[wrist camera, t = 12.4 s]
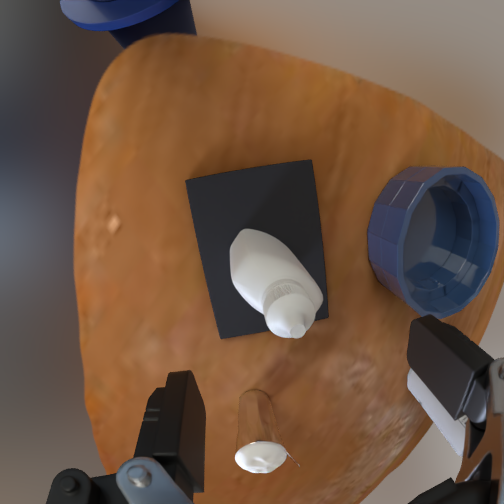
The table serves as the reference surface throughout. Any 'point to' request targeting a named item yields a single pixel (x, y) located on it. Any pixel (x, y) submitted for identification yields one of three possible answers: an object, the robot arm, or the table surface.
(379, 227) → the bowl
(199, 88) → the table surface
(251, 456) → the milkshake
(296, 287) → the eye dropper bottle
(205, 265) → the mat
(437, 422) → the energy drink can
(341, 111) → the table surface
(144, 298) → the table surface
